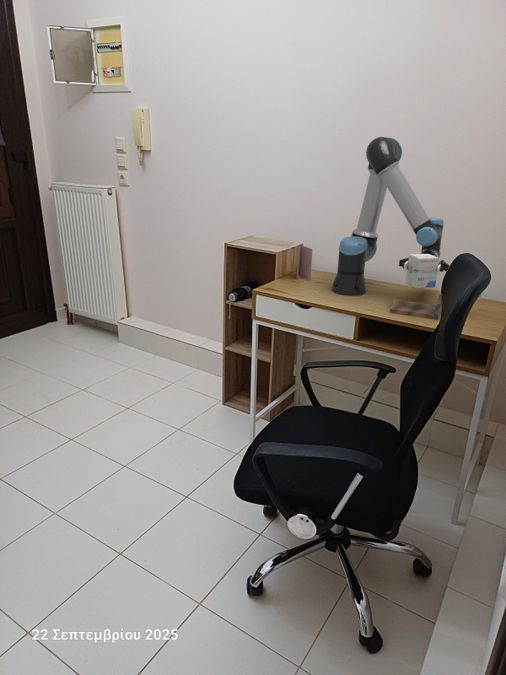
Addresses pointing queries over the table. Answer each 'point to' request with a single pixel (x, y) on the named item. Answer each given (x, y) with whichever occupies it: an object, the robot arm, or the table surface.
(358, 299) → the table surface
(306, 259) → the greeting card
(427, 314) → the walnut stand
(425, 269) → the ink box
